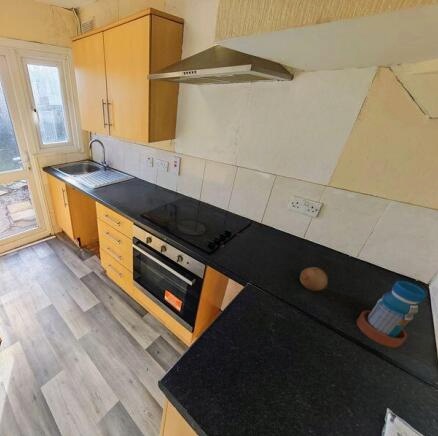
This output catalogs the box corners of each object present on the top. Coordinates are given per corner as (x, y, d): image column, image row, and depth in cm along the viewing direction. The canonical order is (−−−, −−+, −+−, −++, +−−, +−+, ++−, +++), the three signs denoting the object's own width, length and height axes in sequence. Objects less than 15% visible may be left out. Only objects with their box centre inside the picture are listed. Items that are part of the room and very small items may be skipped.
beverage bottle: (365, 332, 78) (397, 289, 69) (361, 316, 85) (390, 274, 76) (398, 346, 74) (436, 302, 65) (391, 327, 81) (425, 285, 72)
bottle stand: (395, 328, 82) (401, 321, 80) (405, 354, 73) (412, 347, 71) (354, 312, 87) (359, 305, 86) (358, 334, 78) (364, 327, 77)
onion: (316, 299, 92) (327, 280, 88) (292, 284, 100) (300, 266, 95) (326, 290, 97) (336, 272, 93) (302, 277, 105) (310, 259, 100)
